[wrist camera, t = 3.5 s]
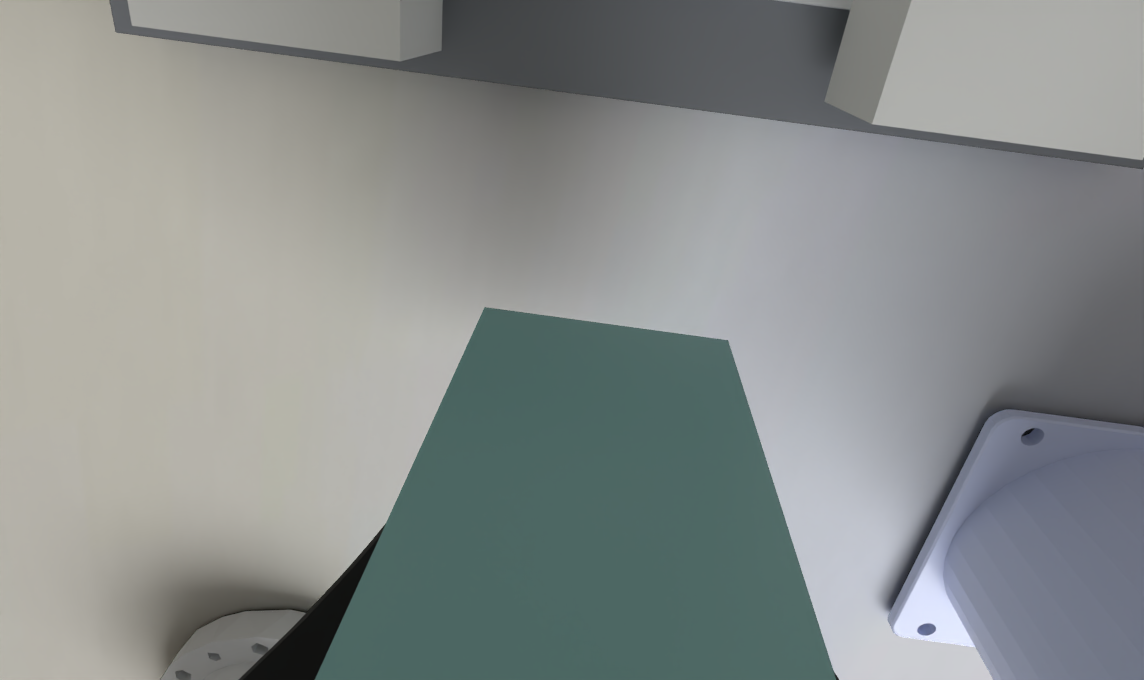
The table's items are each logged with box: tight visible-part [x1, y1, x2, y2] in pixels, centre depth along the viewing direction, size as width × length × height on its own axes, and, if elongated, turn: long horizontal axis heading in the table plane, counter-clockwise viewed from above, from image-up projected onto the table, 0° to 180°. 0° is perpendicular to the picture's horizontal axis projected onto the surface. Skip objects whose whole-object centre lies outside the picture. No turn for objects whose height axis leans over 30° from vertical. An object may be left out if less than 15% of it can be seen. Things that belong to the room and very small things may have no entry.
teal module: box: [315, 307, 836, 680], centre depth 8 cm, size 4×6×8 cm, turn 174°
